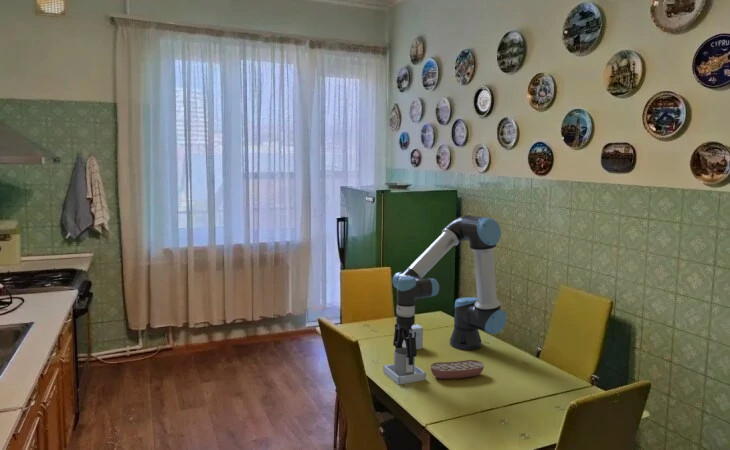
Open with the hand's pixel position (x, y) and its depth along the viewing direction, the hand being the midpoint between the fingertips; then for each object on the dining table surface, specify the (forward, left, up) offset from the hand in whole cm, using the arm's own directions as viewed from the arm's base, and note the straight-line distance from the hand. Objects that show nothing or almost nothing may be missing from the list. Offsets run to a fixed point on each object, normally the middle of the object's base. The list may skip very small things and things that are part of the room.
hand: (404, 367), depth 227 cm
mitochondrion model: (-21, +9, -4) cm, 23 cm away
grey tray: (0, 0, -4) cm, 4 cm away
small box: (-20, -28, -4) cm, 35 cm away
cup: (0, 0, -3) cm, 3 cm away
